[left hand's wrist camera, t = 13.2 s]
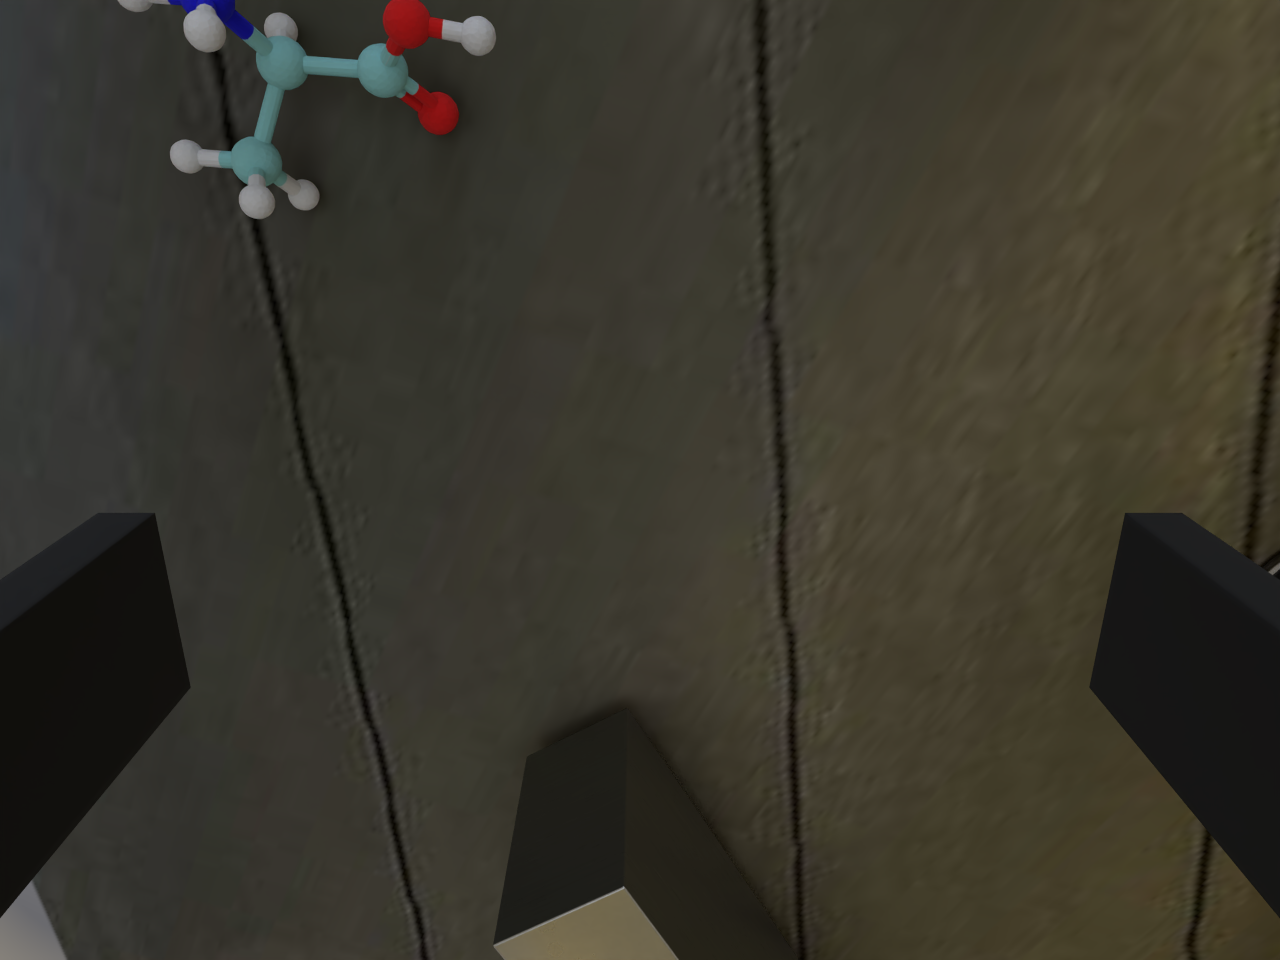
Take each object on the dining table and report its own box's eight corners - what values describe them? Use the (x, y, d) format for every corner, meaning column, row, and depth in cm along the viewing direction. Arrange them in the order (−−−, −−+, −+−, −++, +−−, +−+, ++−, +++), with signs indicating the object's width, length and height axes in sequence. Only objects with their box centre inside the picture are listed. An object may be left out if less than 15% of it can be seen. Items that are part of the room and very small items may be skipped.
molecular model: (337, 333, 36) (176, 202, 26) (208, 189, 38) (18, 22, 29) (547, 141, 37) (463, -56, 27) (406, 12, 39) (283, -211, 29)
